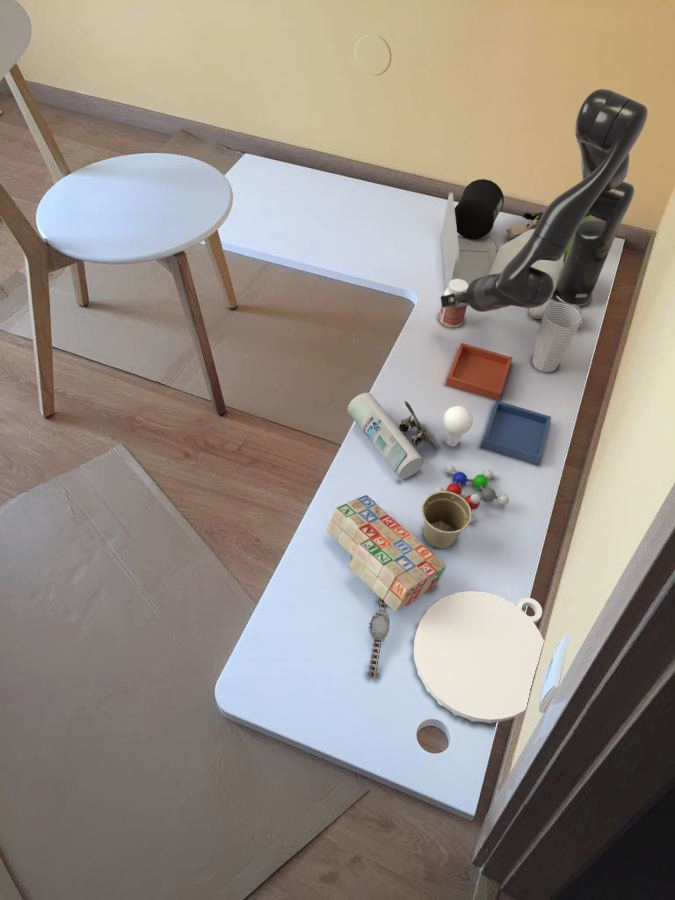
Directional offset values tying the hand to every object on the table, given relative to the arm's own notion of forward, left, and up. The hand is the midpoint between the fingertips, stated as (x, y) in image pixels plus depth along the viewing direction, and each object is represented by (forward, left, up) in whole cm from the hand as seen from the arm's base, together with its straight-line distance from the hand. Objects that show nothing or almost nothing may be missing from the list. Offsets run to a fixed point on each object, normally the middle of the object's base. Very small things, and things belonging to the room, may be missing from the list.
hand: (461, 299), depth 177 cm
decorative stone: (-12, +23, -9) cm, 27 cm away
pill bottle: (-2, -2, -9) cm, 9 cm away
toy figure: (-40, +5, -4) cm, 41 cm away
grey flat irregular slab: (-14, +12, -7) cm, 19 cm away
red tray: (+14, +9, -9) cm, 19 cm away
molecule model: (+42, +13, -8) cm, 45 cm away
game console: (-23, -2, -9) cm, 24 cm away
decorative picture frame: (+42, +5, -1) cm, 42 cm away
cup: (+4, +23, -9) cm, 25 cm away
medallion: (+80, +27, -6) cm, 85 cm away
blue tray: (+29, +21, -9) cm, 37 cm away
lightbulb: (+37, +9, -9) cm, 39 cm away
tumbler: (-41, +20, -9) cm, 47 cm away
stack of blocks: (+66, +6, -6) cm, 66 cm away
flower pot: (+60, +13, -9) cm, 62 cm away
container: (-34, -6, -2) cm, 34 cm away
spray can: (+49, +3, -6) cm, 49 cm away
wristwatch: (+85, +8, -9) cm, 86 cm away
